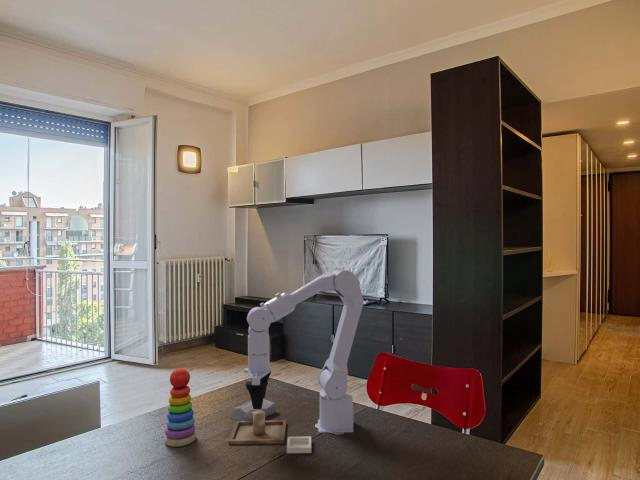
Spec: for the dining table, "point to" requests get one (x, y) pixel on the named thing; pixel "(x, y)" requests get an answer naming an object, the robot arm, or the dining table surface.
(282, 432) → the tray
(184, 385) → the stacking toy
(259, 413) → the dowel
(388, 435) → the dining table surface
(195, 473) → the dining table surface
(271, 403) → the stone block
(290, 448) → the holder
